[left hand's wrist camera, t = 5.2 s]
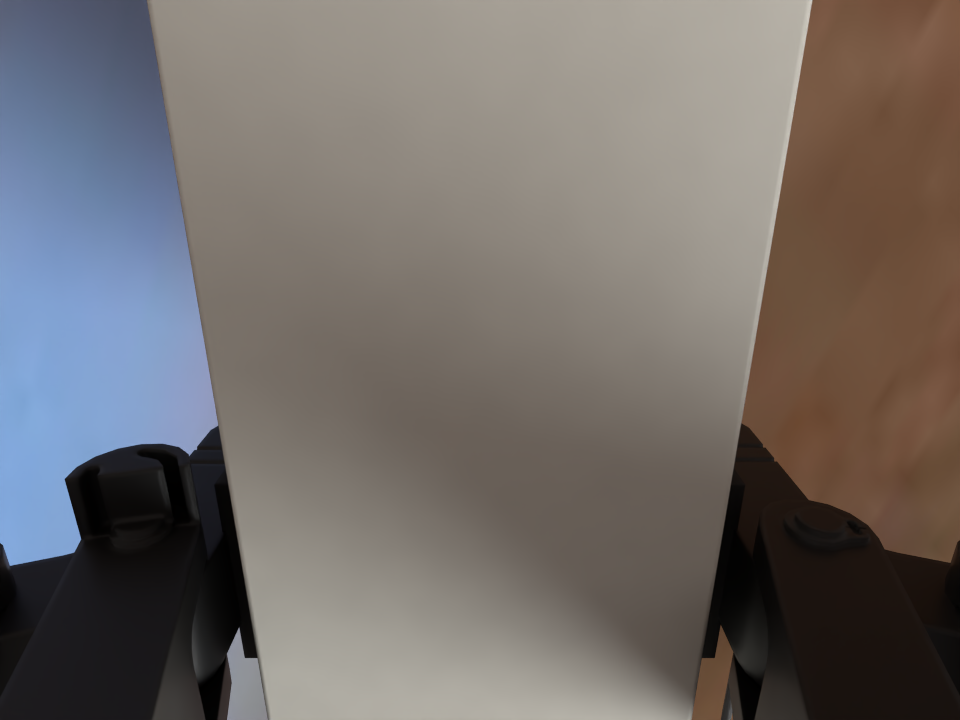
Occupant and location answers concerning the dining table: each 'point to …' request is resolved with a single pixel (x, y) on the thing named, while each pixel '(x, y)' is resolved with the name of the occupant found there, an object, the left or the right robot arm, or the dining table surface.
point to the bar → (479, 333)
